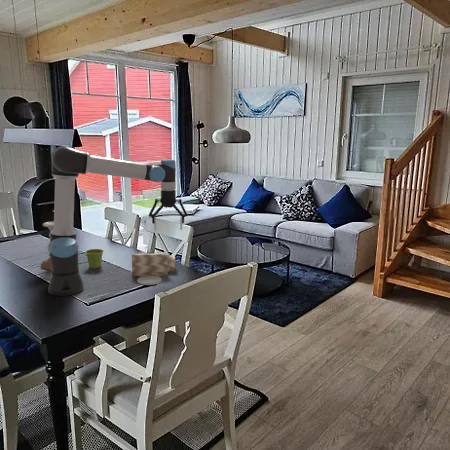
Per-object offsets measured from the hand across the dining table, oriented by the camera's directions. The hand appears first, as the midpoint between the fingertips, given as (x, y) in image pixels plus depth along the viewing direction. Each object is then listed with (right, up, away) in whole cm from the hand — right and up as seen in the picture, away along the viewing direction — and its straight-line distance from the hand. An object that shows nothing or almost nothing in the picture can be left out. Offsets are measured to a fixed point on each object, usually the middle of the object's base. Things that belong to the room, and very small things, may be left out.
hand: (168, 229), depth 211 cm
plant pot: (-41, -20, +5) cm, 46 cm away
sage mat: (-7, -25, -13) cm, 30 cm away
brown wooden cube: (-1, -22, +5) cm, 22 cm away
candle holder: (-61, -20, +3) cm, 64 cm away
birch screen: (-9, -23, -5) cm, 25 cm away
